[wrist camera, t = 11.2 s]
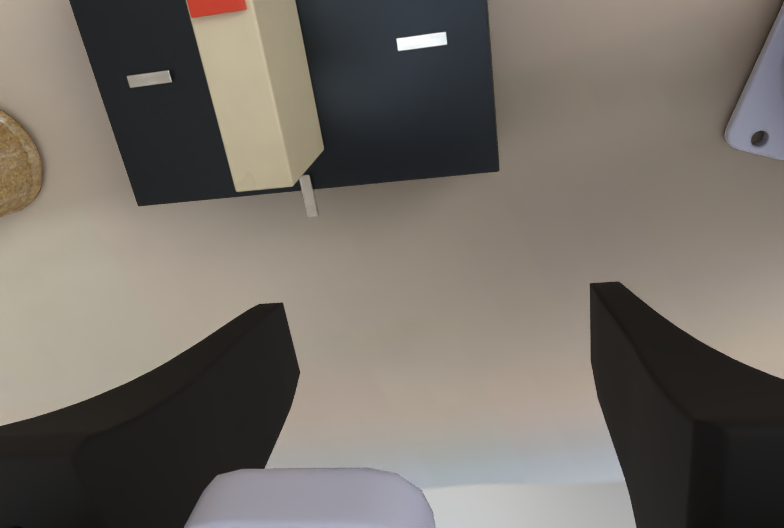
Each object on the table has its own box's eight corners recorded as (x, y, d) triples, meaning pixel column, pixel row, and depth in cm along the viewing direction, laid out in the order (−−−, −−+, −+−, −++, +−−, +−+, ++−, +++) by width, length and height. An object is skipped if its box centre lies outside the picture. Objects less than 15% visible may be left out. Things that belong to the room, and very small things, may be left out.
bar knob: (325, 149, 19) (290, 190, 16) (275, 155, 19) (231, 196, 16) (286, -49, 17) (236, -51, 14) (231, -39, 17) (169, -39, 14)
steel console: (475, -157, 18) (473, -182, 15) (499, 164, 22) (501, 200, 19) (105, -86, 20) (33, -93, 17) (189, 195, 24) (143, 232, 21)
